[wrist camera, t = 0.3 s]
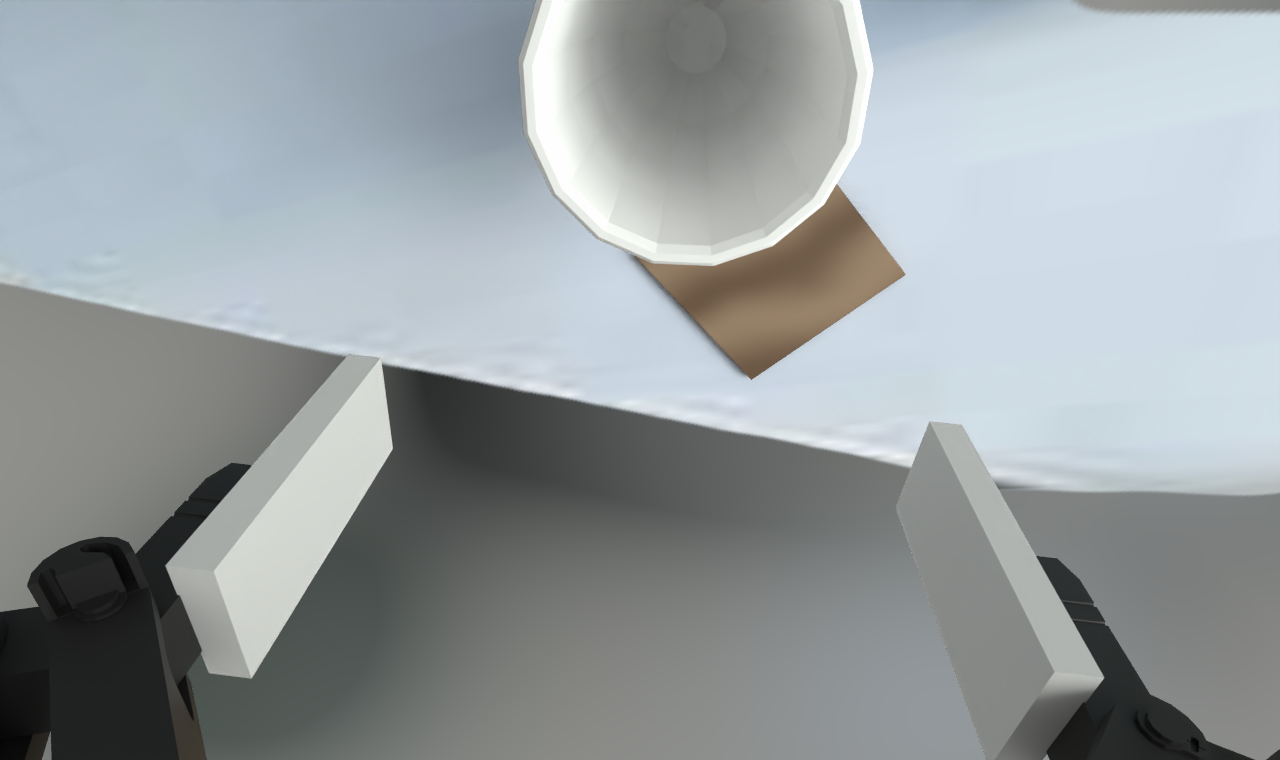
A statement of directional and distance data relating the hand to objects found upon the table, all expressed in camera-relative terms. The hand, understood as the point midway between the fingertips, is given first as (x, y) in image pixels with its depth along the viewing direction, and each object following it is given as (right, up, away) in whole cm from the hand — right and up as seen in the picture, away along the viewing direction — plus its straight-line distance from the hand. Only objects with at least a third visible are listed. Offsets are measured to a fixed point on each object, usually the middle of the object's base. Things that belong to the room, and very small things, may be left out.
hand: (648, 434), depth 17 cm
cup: (+3, +20, +20) cm, 29 cm away
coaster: (+8, +9, +27) cm, 29 cm away
